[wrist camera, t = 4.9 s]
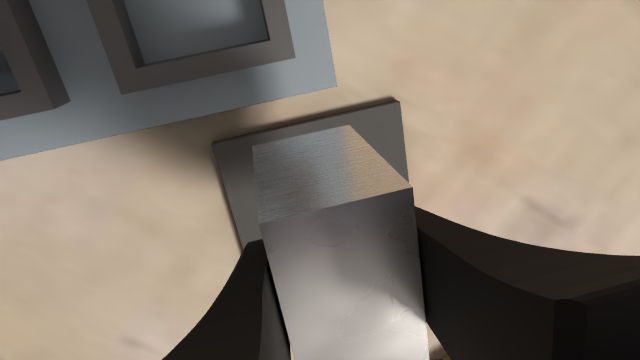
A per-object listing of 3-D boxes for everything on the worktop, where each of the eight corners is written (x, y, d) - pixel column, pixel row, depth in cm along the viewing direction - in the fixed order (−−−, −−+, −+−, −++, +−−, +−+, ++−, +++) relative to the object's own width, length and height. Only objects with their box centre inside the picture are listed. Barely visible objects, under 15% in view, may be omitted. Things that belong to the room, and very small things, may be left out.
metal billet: (284, 276, 17) (306, 403, 11) (252, 146, 15) (258, 224, 9) (368, 254, 17) (430, 367, 11) (348, 124, 15) (412, 186, 9)
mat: (258, 297, 23) (258, 301, 22) (212, 142, 19) (211, 144, 19) (414, 255, 24) (417, 259, 23) (396, 100, 20) (399, 101, 20)
